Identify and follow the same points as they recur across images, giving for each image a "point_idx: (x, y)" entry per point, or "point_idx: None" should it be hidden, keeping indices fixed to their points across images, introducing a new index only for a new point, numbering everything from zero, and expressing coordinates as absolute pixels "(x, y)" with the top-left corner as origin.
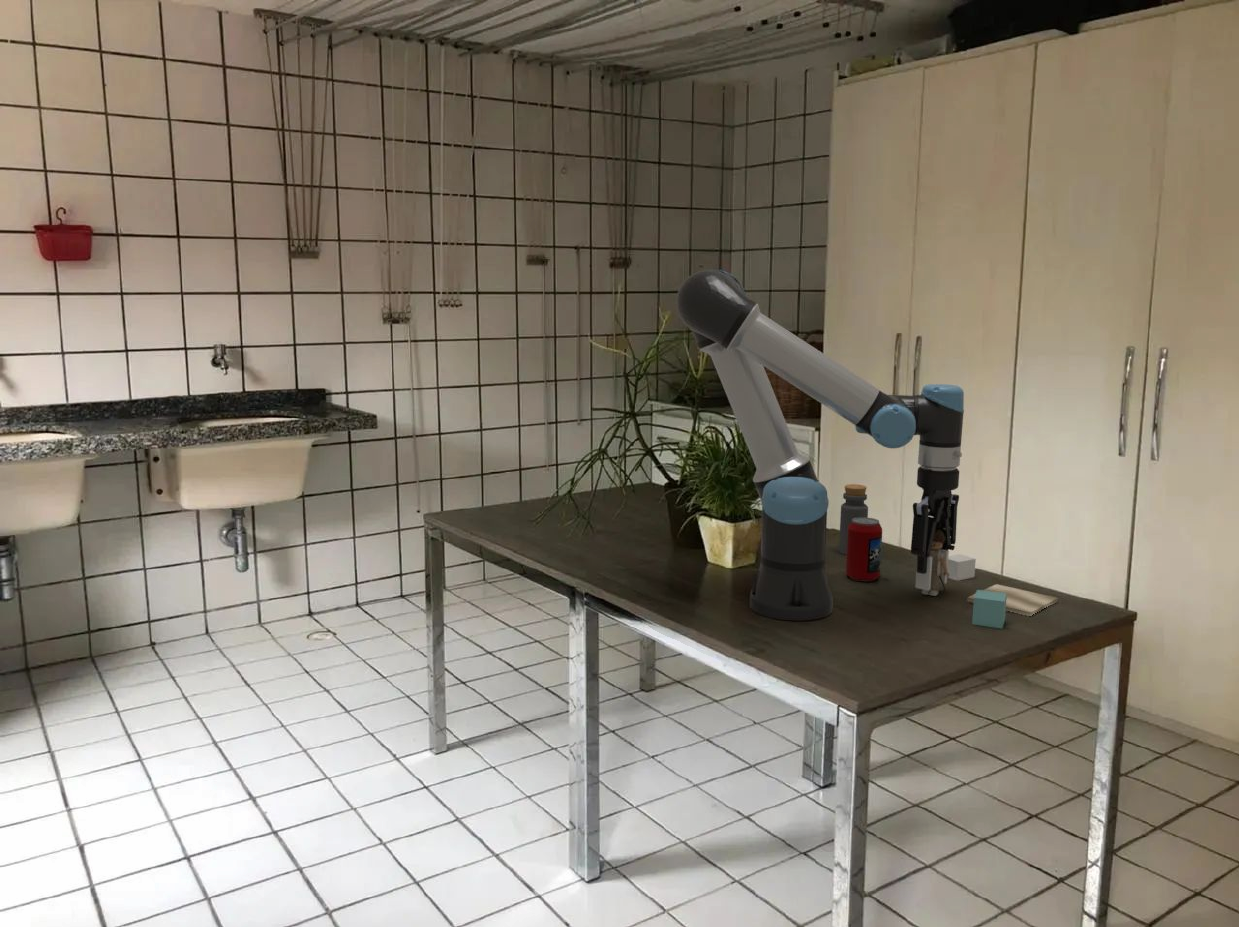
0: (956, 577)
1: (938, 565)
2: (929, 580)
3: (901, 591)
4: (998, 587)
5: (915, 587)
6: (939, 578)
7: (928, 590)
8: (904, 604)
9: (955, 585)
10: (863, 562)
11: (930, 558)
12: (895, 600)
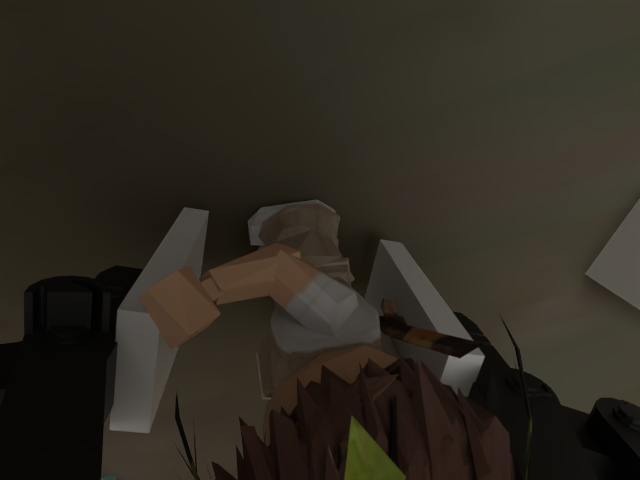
0: (597, 276)
1: (263, 384)
2: None
3: (242, 95)
4: None
5: (184, 207)
6: (374, 291)
7: None
8: (23, 190)
9: (501, 291)
10: None
11: (114, 423)
12: (53, 124)
